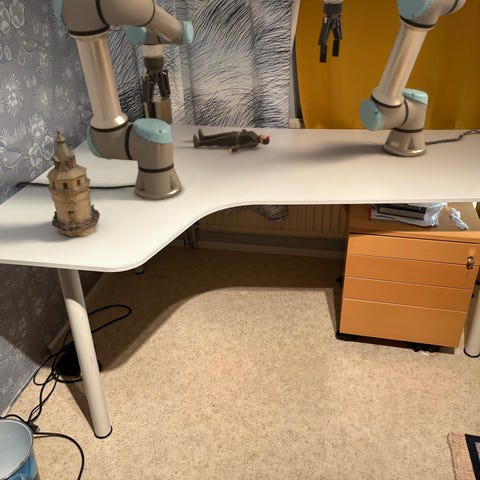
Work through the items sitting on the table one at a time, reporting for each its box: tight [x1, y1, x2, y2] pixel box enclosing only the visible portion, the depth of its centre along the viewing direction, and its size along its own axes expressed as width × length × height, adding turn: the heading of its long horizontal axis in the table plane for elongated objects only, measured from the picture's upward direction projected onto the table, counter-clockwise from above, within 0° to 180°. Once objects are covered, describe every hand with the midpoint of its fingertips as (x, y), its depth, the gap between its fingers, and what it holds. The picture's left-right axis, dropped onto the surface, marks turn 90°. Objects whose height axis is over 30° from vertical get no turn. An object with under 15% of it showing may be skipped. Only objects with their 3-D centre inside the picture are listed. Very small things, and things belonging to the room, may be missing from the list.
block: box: [143, 95, 173, 125], centre depth 208 cm, size 7×7×10 cm
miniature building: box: [46, 129, 101, 237], centre depth 148 cm, size 13×14×30 cm
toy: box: [192, 128, 271, 155], centre depth 214 cm, size 26×6×30 cm
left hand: (158, 116), depth 209 cm, fingers closed on block, 7 cm apart
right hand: (329, 59), depth 217 cm, fingers open, 13 cm apart
